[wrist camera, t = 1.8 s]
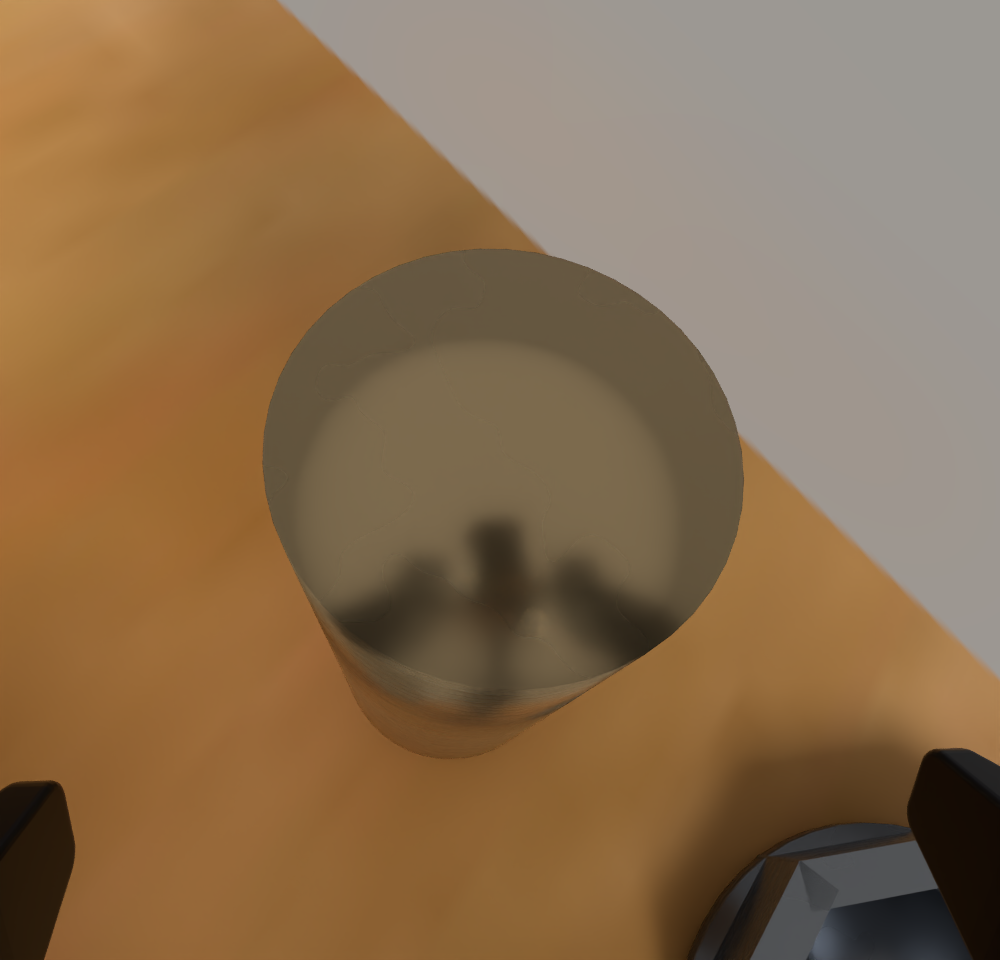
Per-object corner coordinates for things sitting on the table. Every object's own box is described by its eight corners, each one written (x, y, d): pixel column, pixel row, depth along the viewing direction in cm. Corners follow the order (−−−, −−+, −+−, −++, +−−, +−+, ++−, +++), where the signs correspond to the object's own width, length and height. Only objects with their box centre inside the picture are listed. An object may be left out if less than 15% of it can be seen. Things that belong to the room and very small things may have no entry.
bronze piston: (571, 742, 20) (800, 654, 8) (353, 774, 19) (270, 725, 7) (537, 538, 22) (683, 240, 10) (339, 559, 21) (256, 257, 9)
